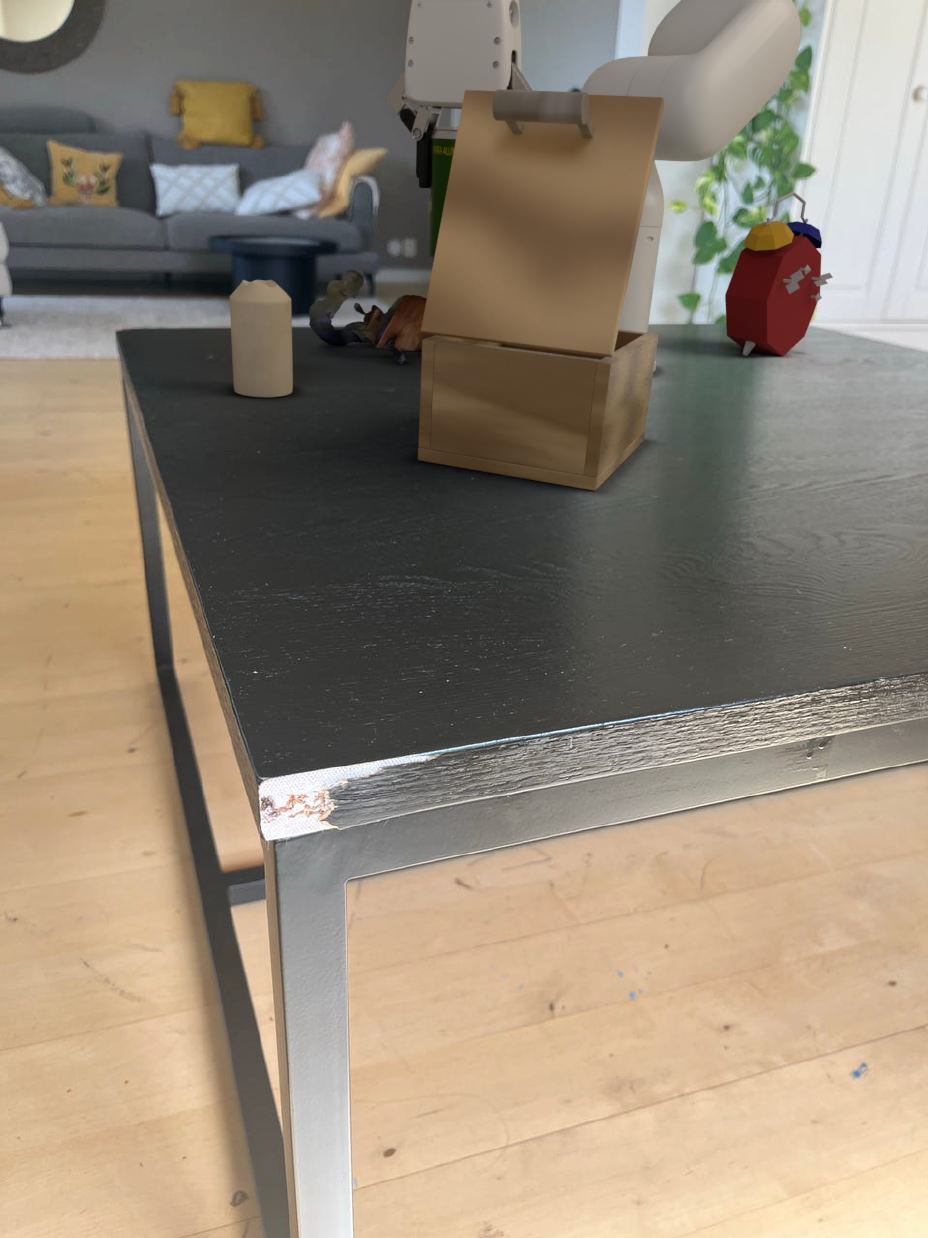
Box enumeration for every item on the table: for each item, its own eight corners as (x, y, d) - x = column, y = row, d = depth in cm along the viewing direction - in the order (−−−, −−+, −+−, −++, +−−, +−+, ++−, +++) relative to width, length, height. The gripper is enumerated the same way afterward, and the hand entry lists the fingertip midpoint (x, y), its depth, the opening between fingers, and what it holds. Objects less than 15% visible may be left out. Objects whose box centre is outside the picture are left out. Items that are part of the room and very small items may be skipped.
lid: (468, 94, 67) (443, 56, 62) (665, 102, 63) (654, 61, 58) (424, 333, 69) (396, 314, 64) (613, 357, 64) (598, 339, 60)
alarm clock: (768, 344, 136) (797, 190, 127) (825, 354, 131) (859, 195, 122) (714, 353, 126) (741, 187, 117) (773, 364, 121) (807, 191, 112)
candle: (280, 400, 88) (277, 285, 83) (224, 394, 88) (218, 280, 84) (301, 388, 92) (299, 280, 88) (247, 382, 93) (243, 275, 89)
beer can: (489, 267, 93) (496, 128, 87) (437, 266, 91) (441, 125, 86) (471, 260, 97) (476, 128, 92) (420, 260, 96) (423, 125, 90)
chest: (490, 418, 86) (498, 314, 82) (643, 441, 82) (658, 333, 78) (417, 460, 73) (421, 339, 69) (595, 491, 68) (611, 363, 64)
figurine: (341, 379, 118) (288, 337, 106) (357, 312, 119) (305, 264, 107) (450, 390, 112) (406, 347, 101) (466, 320, 113) (424, 269, 101)
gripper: (572, -32, 84) (554, 194, 91) (396, -29, 89) (394, 184, 97) (545, -49, 77) (528, 195, 85) (358, -44, 83) (359, 184, 91)
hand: (457, 187), depth 91 cm, fingers closed on beer can, 5 cm apart
